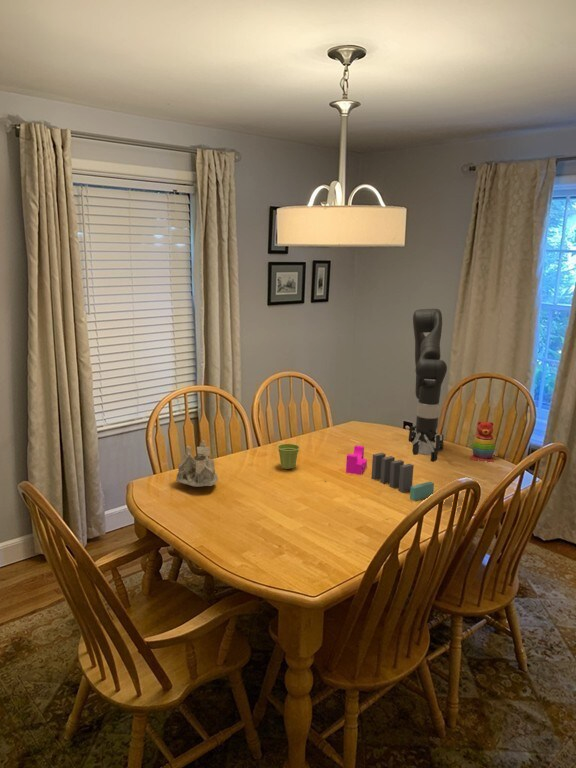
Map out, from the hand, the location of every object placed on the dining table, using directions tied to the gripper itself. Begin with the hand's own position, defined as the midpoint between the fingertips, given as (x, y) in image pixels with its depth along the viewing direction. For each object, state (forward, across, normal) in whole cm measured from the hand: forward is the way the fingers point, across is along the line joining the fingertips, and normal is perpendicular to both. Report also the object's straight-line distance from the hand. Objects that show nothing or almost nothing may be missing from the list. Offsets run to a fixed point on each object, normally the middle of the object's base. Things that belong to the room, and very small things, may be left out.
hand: (424, 457), depth 203 cm
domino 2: (+15, +18, 0) cm, 24 cm away
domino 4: (+15, +8, 0) cm, 17 cm away
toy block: (+16, +36, 0) cm, 39 cm away
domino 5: (+13, 0, -5) cm, 14 cm away
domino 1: (+15, +23, 0) cm, 28 cm away
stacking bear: (+16, +15, -55) cm, 59 cm away
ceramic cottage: (+15, +56, +64) cm, 86 cm away
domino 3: (+15, +13, 0) cm, 20 cm away
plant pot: (+16, +52, +24) cm, 59 cm away
